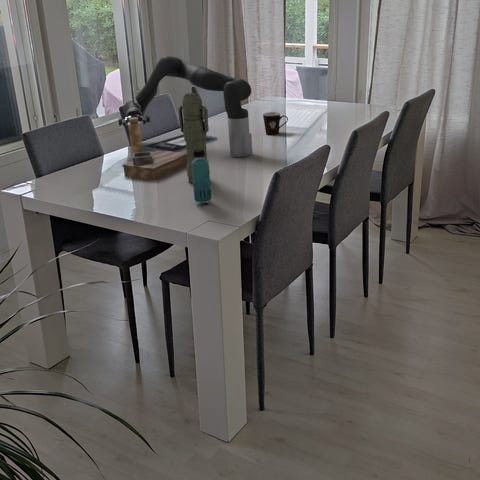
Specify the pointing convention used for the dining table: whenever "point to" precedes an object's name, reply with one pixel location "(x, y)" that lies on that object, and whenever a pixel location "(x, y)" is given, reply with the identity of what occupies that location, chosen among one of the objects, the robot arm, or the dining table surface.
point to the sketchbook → (174, 144)
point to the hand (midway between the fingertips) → (134, 123)
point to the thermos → (193, 127)
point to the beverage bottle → (201, 177)
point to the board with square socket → (154, 164)
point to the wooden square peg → (135, 135)
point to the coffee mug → (272, 122)
